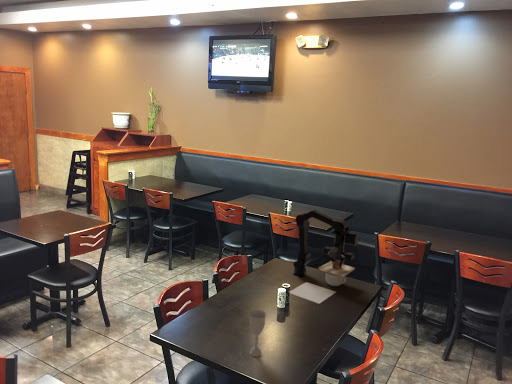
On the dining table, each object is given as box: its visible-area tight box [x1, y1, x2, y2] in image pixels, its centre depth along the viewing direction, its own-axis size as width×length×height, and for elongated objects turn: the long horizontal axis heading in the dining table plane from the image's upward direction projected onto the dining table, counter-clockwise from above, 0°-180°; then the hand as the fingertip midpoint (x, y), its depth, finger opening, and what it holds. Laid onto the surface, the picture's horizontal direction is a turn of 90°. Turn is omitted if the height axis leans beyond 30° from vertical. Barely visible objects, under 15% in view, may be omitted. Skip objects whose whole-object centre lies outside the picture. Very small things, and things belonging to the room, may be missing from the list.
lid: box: [318, 259, 356, 277], centre depth 245 cm, size 16×16×5 cm
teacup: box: [324, 272, 347, 287], centre depth 247 cm, size 14×11×8 cm
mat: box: [289, 281, 337, 305], centre depth 236 cm, size 20×20×1 cm
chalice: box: [248, 309, 267, 357], centre depth 173 cm, size 7×7×18 cm
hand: (337, 266), depth 245 cm, fingers closed on lid, 4 cm apart
